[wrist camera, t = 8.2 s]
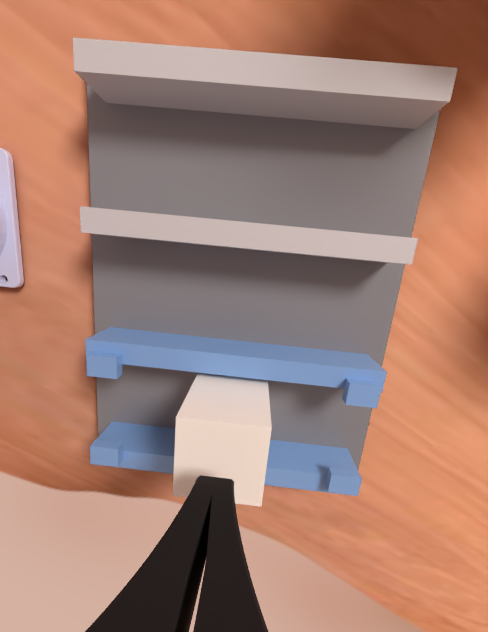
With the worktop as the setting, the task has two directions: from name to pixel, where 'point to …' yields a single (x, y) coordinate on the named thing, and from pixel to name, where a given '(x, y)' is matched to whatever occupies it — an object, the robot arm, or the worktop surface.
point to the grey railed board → (249, 240)
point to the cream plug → (224, 435)
